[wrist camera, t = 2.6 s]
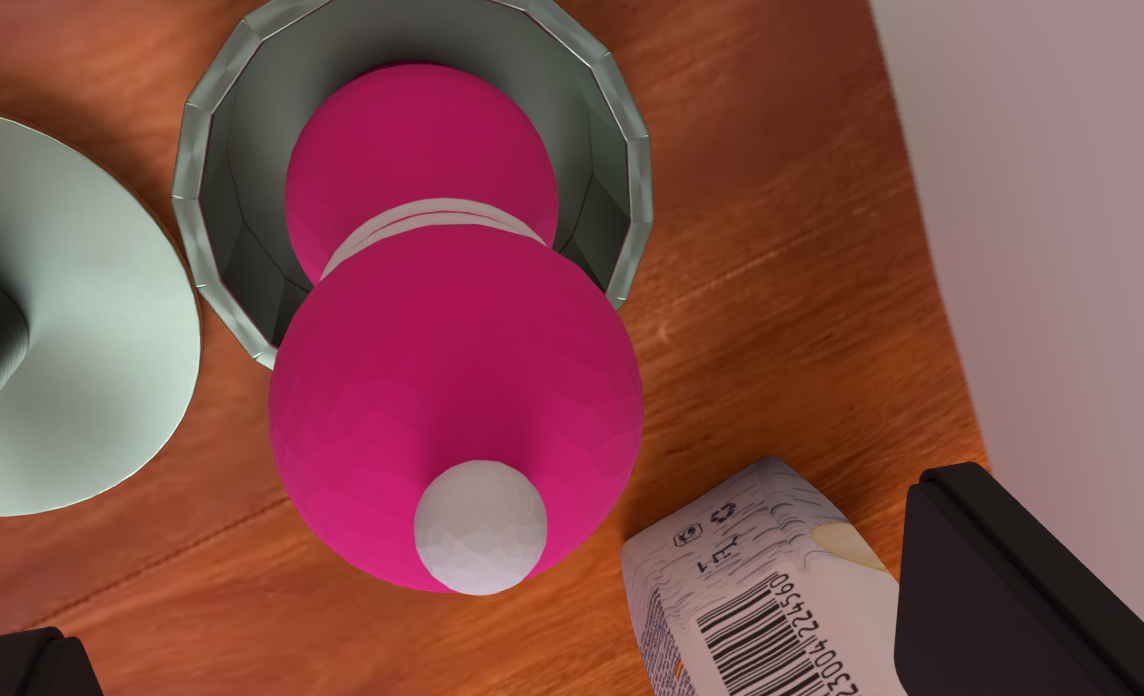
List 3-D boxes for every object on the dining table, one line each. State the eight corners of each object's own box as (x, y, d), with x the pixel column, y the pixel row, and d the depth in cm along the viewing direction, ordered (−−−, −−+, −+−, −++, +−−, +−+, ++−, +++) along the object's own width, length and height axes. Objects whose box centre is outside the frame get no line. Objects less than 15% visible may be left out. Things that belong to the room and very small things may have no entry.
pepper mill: (572, 109, 30) (868, 431, 12) (470, 304, 32) (596, 819, 14) (354, -5, 27) (327, 193, 10) (259, 216, 29) (94, 709, 12)
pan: (259, 366, 32) (239, 449, 27) (156, -31, 26) (110, -14, 22) (621, 310, 34) (662, 378, 29) (595, -76, 28) (641, -68, 23)
